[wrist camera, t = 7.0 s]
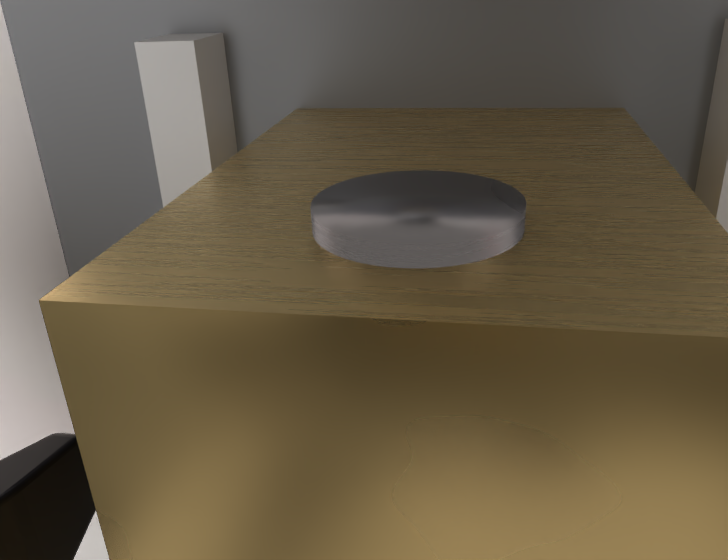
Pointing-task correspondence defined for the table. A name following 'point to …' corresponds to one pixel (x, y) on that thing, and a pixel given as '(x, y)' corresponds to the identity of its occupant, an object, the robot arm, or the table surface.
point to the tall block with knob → (410, 348)
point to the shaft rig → (339, 83)
